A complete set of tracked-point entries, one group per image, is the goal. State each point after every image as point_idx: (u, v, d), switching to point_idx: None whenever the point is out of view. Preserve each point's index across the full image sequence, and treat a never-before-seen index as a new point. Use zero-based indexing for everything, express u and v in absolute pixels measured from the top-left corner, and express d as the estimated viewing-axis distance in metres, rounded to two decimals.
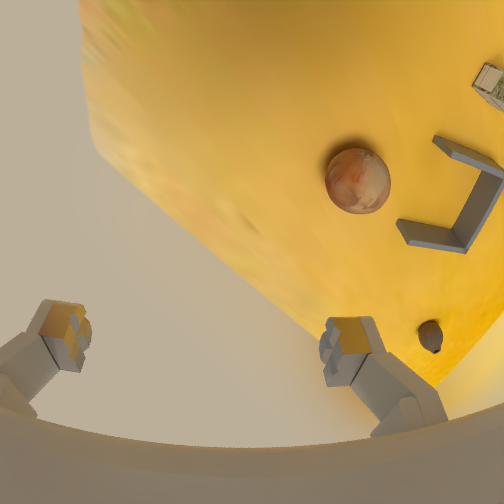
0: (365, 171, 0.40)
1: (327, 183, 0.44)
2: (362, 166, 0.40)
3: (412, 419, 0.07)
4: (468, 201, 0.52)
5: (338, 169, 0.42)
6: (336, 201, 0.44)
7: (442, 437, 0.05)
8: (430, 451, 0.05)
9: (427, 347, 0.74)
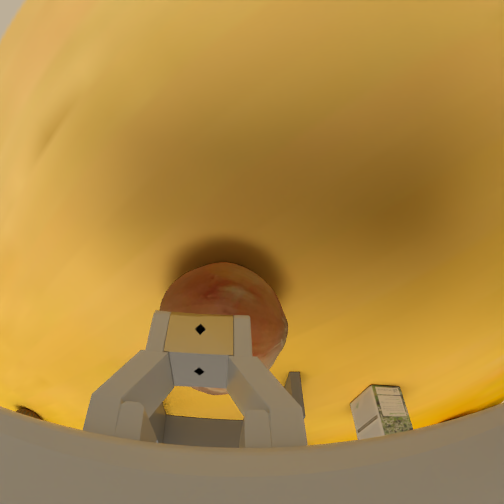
0: (267, 356, 0.21)
1: (207, 286, 0.21)
2: (272, 346, 0.21)
3: (256, 436, 0.06)
4: (214, 421, 0.43)
5: (251, 304, 0.21)
6: None
7: (442, 437, 0.05)
8: (430, 451, 0.05)
9: None
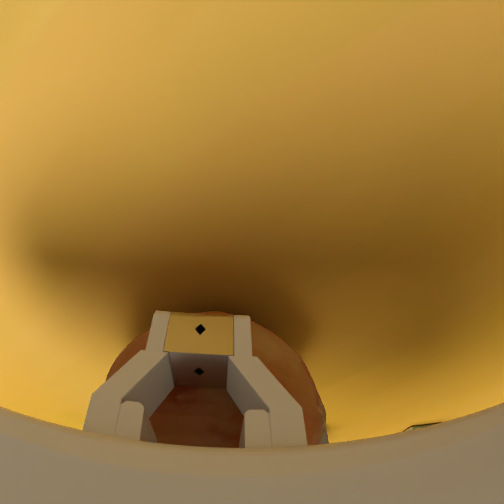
0: None
1: None
2: None
3: (256, 436, 0.06)
4: None
5: None
6: None
7: (442, 437, 0.05)
8: (430, 451, 0.05)
9: None
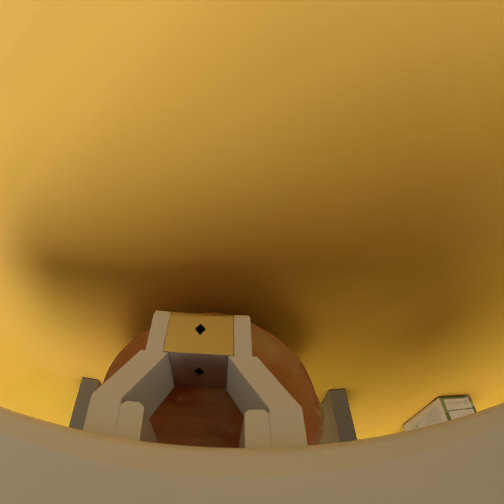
0: None
1: None
2: None
3: (256, 436, 0.06)
4: None
5: None
6: None
7: (442, 437, 0.05)
8: (430, 451, 0.05)
9: None
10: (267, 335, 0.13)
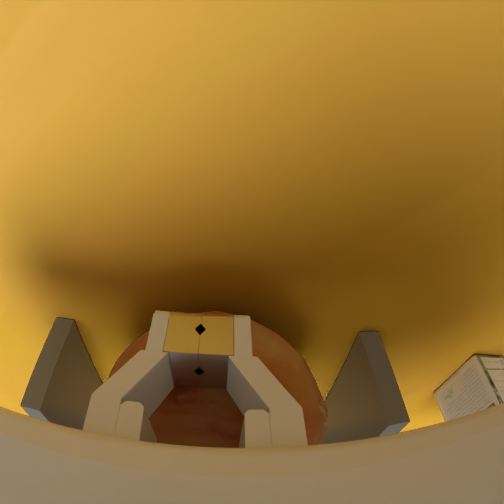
0: None
1: None
2: None
3: (256, 436, 0.06)
4: None
5: None
6: None
7: (442, 437, 0.05)
8: (430, 451, 0.05)
9: None
10: (268, 332, 0.13)
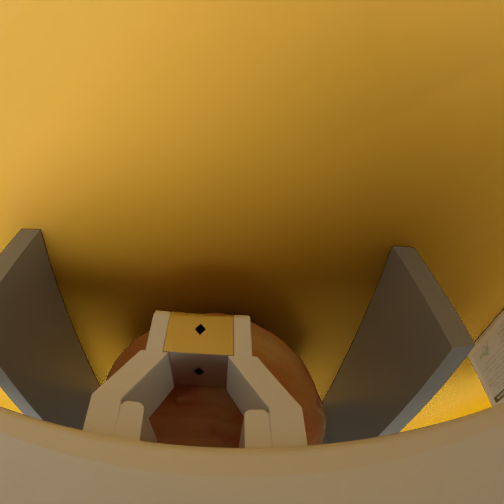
0: None
1: None
2: None
3: (256, 436, 0.06)
4: None
5: None
6: None
7: (442, 437, 0.05)
8: (430, 451, 0.05)
9: None
10: (268, 335, 0.13)
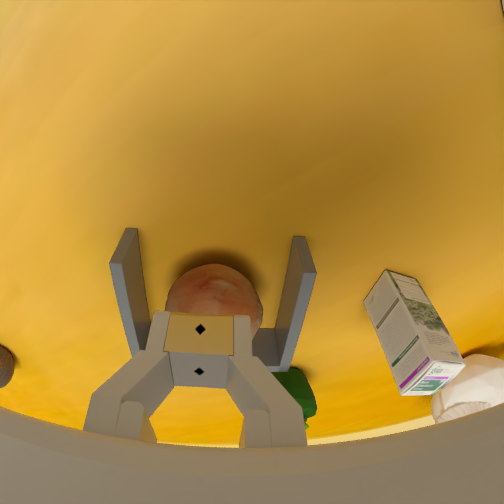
0: None
1: (202, 281, 0.29)
2: None
3: (256, 436, 0.06)
4: None
5: (233, 292, 0.29)
6: (183, 305, 0.28)
7: (442, 437, 0.05)
8: (430, 451, 0.05)
9: None
10: (237, 271, 0.32)
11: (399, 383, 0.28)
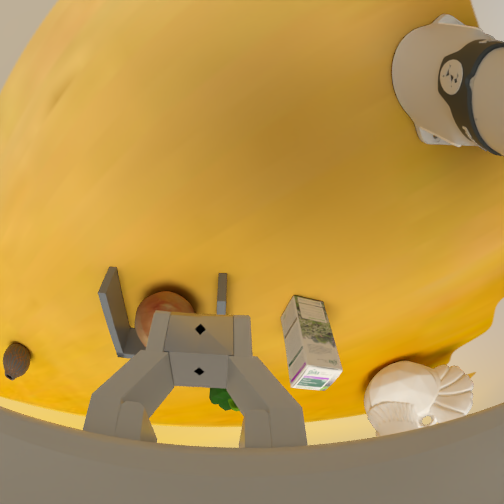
0: None
1: (155, 304, 0.45)
2: None
3: (256, 436, 0.06)
4: None
5: None
6: (143, 319, 0.44)
7: (442, 437, 0.05)
8: (430, 451, 0.05)
9: (5, 364, 0.53)
10: (180, 297, 0.48)
11: (291, 378, 0.44)
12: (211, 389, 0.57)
